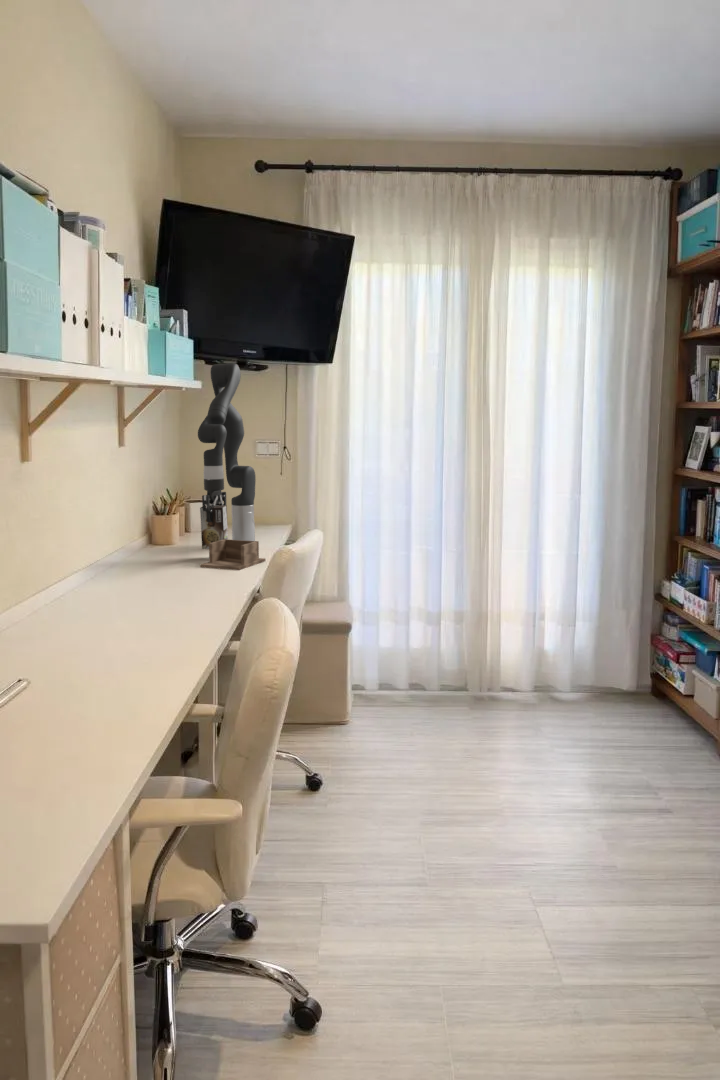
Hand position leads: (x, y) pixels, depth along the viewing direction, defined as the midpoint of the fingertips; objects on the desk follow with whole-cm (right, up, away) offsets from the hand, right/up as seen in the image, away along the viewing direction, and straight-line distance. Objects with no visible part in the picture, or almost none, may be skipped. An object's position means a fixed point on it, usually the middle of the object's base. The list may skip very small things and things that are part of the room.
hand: (215, 520), depth 342 cm
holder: (+9, -16, -11) cm, 21 cm away
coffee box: (0, -11, +2) cm, 11 cm away
